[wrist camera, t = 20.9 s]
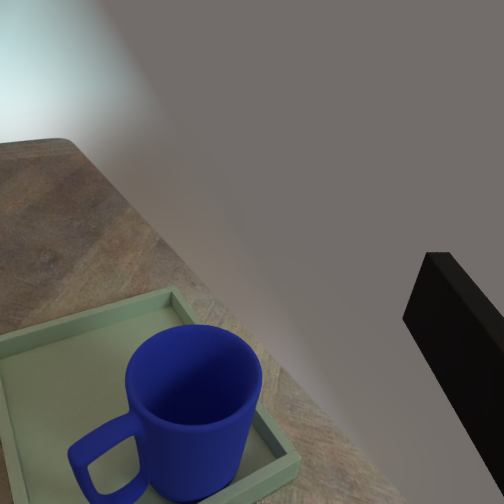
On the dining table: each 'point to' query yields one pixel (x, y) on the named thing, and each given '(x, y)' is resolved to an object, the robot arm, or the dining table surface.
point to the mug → (179, 416)
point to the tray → (105, 405)
